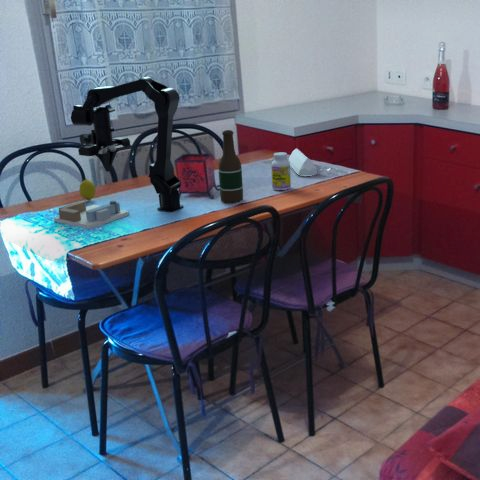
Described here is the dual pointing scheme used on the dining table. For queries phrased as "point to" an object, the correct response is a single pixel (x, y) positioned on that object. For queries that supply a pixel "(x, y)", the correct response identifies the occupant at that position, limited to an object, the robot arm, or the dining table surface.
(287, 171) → the supplement bottle
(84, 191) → the lemon
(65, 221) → the seat
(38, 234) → the dining table surface
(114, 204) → the leg
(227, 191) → the beer bottle
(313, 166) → the white triangular prism
